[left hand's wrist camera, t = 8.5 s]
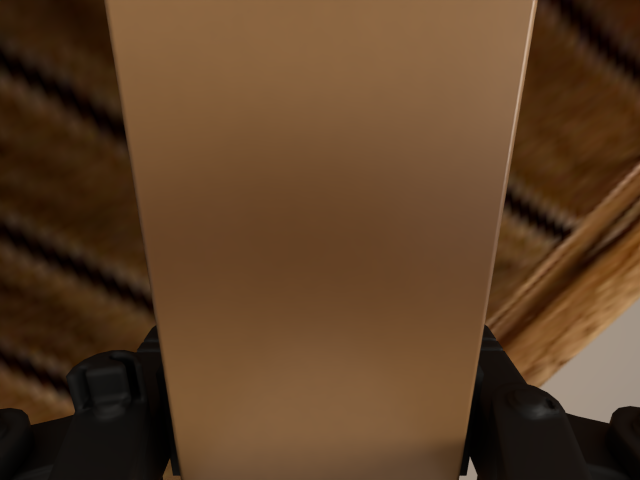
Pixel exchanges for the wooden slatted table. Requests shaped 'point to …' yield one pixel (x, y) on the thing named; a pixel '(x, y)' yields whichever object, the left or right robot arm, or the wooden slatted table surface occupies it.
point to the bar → (320, 222)
